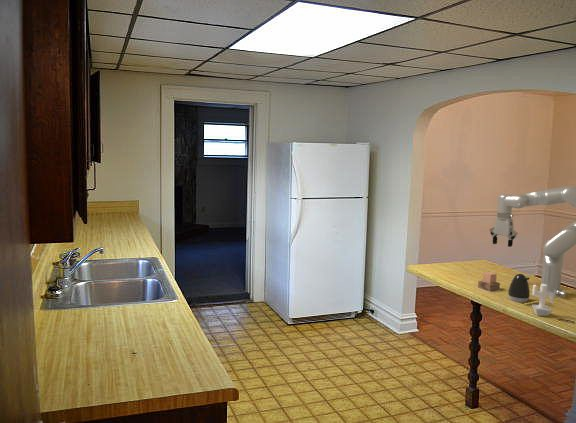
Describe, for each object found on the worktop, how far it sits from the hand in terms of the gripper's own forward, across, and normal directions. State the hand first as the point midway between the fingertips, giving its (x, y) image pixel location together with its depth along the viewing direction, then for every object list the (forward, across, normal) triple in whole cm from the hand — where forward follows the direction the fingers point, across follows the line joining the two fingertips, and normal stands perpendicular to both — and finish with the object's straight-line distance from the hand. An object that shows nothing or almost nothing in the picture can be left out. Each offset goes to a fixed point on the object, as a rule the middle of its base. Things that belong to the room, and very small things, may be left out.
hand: (502, 245), depth 290 cm
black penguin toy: (+25, -24, +20) cm, 40 cm away
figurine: (+25, -42, +29) cm, 56 cm away
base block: (+23, -4, +15) cm, 28 cm away
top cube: (+19, -4, +15) cm, 25 cm away
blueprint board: (+24, -6, +11) cm, 27 cm away
